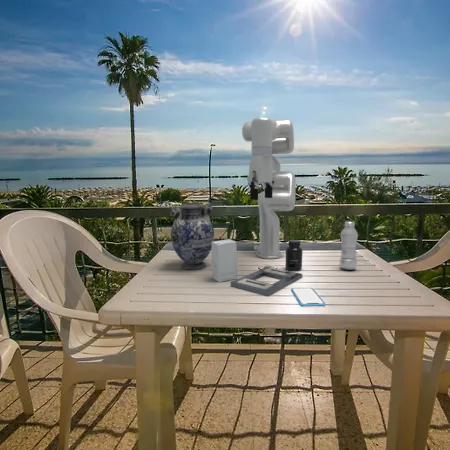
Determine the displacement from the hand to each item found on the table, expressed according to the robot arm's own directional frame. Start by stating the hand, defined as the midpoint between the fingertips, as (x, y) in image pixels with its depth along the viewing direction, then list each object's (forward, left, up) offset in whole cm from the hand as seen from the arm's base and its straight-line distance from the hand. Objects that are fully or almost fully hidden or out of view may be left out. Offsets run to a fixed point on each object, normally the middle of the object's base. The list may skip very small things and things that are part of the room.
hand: (261, 198), depth 122 cm
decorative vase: (-31, -7, -31) cm, 44 cm away
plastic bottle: (+24, +28, -31) cm, 48 cm away
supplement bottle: (+6, +15, -31) cm, 35 cm away
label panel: (+6, -5, -30) cm, 31 cm away
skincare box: (-9, -12, -31) cm, 34 cm away
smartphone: (+24, -10, -31) cm, 41 cm away
